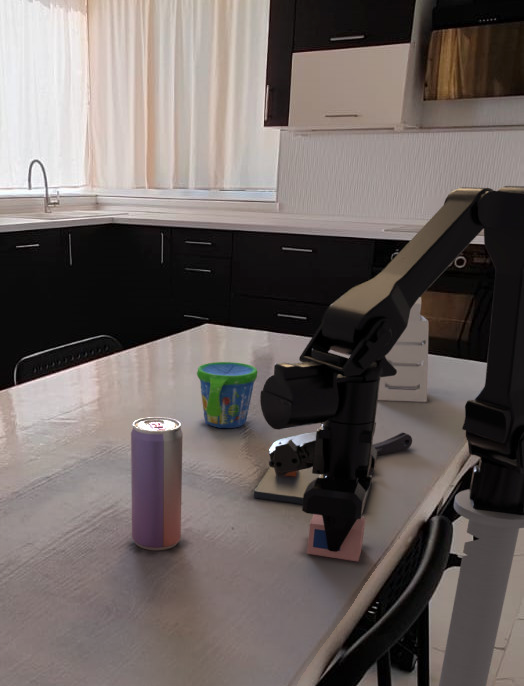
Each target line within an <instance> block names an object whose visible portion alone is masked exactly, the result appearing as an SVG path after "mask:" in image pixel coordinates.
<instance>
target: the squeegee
mask: <svg viewBox="0 0 524 686" xmlns="http://www.w3.org/2000/svg"><path fill="white" fill-rule="evenodd" d="M412 444H413V437H412V436H411V434H408V433H406V432H400V433H398V434H396V435H394V436H392V437H389V438H387V439H385V440H383V441H380V442H376V443H372V445H373V446H374V448H375V449H376V450H377V456H378V455H385V454H390V453H395V452H401V451H402V452H403V451H405V450H408V449H410V447H411V446H412ZM375 470H376V468H375V469H374V471H375ZM373 473H374V472H373V471H369V473H368V475H372V474H373Z"/></svg>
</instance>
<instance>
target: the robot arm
mask: <svg viewBox="0 0 524 686" xmlns="http://www.w3.org/2000/svg"><path fill="white" fill-rule="evenodd" d="M482 231H483V242H484V243H483V244H484V247H485V249H486V252H487V253H488V255H489V258H490V260H491V262H492V264H493V266H494V268H495V269H494V271H495V273H494V275H495V276H494V285H493V293H492V294H493V295H492V297H493V298H492V305H491V306H492V307H491V315H490V316H491V317H490V326H489V337H488V338H489V339H488V348H487V357H486V358H487V359H486V369H485V370H486V371H485V381H484V386H483V388H482V389H481V390H480V391H479V393H478V394H477V395H476V397H475V398H474V399H469V400H467V401H466V403H465V405H464V415H465V416H464V421H463V425H462V430H463V431H465V438H466V440H467V446H468V447H467V448H468V454H469V455H471V456H476V457H478V458H479V462H478V465H477V464H475V465H474V466H473V469H472V474H471V482H470V485H469V489H470V491H469V498H470V500H472V504H473V508H474V509H478V510H486V511H494V512H501V513H509V514H517V515H524V185H505V186H502V187H500V188H498V190H494V189H493V188H490V187H467V186H465V187H463V186H462V187H459V188H457V189H455V190H452V191H450V192H449V193H448V195H447V197H446V198H445V199H444V203H443V205H442V206H441V207H440V208H439V210H437V212H435V213H434V215H432V217H431V218H430V219H429V220H428V221H427V222H426V223H425V224H424V225H423V227H422V228H420V230H419V231H418V232H417V233H416V234H415V235H414V236H413V237H412V238H411V239H410V240H409V242H408V243H406V245H405V246H404V247H403V248H402V249H401V250H400V251H399V252H398V253H397V254H396V255H395V256H394V258H393V259H392V260H391V261H390V262H389V263H388V264H387V265H386V266H385V267H384V268H383V269H382V270H381V272H379V273H378V274H377V275H375V276H374V277H373V278H371V279H369V280H368V281H365V282H363V283H361V284H357V285H355V286H354V287H352V288H350V289H349V290H347V292H345V293H344V294H343V295H341V296H340V297H339V298H337V299H336V300H335V301H334V302H332V303H331V304H330V305H329V306H328V307H327V308H326V310H325V311H324V314H323V316H322V318H321V324H320V325H319V326H318V328H317V329H316V331H314V332H315V333H313V336H312V337H311V339H310V340H309V341H308V343H307V344H306V347H305V348H304V350H303V351H302V352H301V354H300V356H299V358H298V359H299V362H293V363H290V362H279V363H278V362H277V363H275V364H274V367H273V368H274V369H273V374H272V375H271V376H269V377H268V378H267V379H266V381H265V382H264V385H263V388H262V390H261V391H260V395H259V396H260V403H259V404H260V409H261V413H262V416H263V418H264V420H265V421H266V423H267V424H268V426H269V427H270V428H271V429H273V430H279V431H281V430H285V429H292V428H296V427H297V428H298V427H304V426H312V425H317V424H320V427H319V428H317V430H316V431H313V432H306V433H302V434H296V435H293V436H289V437H283V438H281V439H277V440H276V441H274V442H273V443H272V444H271V446H270V447H269V449H268V453H269V461H268V465H269V468H270V467H272V468H274V470H275V474H276V475H277V476H283V475H286V474H287V473H289V472H294V471H299V470H303V469H308V468H310V469H312V473H313V474H321V475H320V477H318V478H316V479H315V480H313V481H312V482H311V483H309V484H308V487H307V489H306V491H305V493H304V495H303V504H302V508H301V511H302V512H304V513H305V514H311V515H314V514H316V515H322V517H323V522H324V528H325V534H326V540H327V546H328V550H329V551H334V552H337V551H338V550H339V548H340V547H341V545H342V543H343V542H344V540H345V538H346V537H347V535H348V533H349V532H350V530H351V528H352V527H353V525H354V523H355V522H356V520H357V519H361V517H362V515H363V513H364V511H363V508H364V509H365V507H364V505H365V506H366V503H365V495H366V492H367V490H368V488H369V486H370V487H371V485H370V483H371V484H372V482H371V480H372V481H373V476H372V477H370V476H371V475H369V474H368V473H369V471H373V473H374V472H375V470H376V465H377V459H378V458H377V457H378V455H377V450H376V449H375V448H374V446H373V444H374V443H373V442H374V436H375V432H376V428H377V422H376V419H377V417H376V416H377V408H378V402H379V400H378V393H379V385H380V378H381V377H388V376H394V375H396V373H397V370H396V369H395V368H394V367H393V366H392V365H391V364H390V363H389V362H388V361H387V359H386V357H385V356H386V355H387V354H388V353H389V352H390V350H391V349H392V348H393V346H394V345H395V343H396V342H397V340H398V339H399V338H400V336H401V335H402V333H403V332H404V331H405V329H406V327H407V325H408V320H409V315H410V310H411V308H412V307H413V305H414V304H415V302H416V301H417V300H418V299H419V298H420V297H421V298H422V296H423V294H425V292H426V291H427V290H428V289H429V288H430V287H431V286H432V285H433V284H434V283H435V282H436V281H437V279H438V278H439V277H440V276H441V275H442V274H443V273H444V272H445V271H446V270H447V269H448V268H449V266H450V265H451V264H452V263H454V261H455V260H456V259H457V258H458V257H459V256H460V254H461V253H462V252H464V251H465V249H466V248H467V247H468V246H469V245H470V244H471V243H472V242H473V241H474V239H476V237H477V236H478V235H479V234H480V233H481V232H482ZM330 351H332V352H336V353H332V352H330ZM337 353H339V354H337ZM340 354H342V355H345V356H342V355H340ZM346 356H349V357H346ZM374 469H375V470H374Z"/></svg>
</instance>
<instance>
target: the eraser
mask: <svg viewBox="0 0 524 686" xmlns="http://www.w3.org/2000/svg"><path fill="white" fill-rule="evenodd" d="M366 520H367V519H366V517H362V516H361V519H357V520H356V522H355V523H354V525H353V527H352V528H351V530H350V532H349V533H348V535H347V537H346V538H345V540H344V542H343V543H342V545H341V547H340V548H339V550H338V551H337V552H334V551H329V550H328V546H327V540H326V534H325V528H324V522H323V517H322V515H316V514H312V518H311V520H310V523H309V527H308V528H309V529H308V539H307V540H308V541H307V550H306V551H307V552H306V554H307V555H314V556H318V557H326V558H332V559H339V560H344V561H345V560H346V561H350V562H351V561H352V562H359V560H360V558H361V557H360V556H361V552H362V549H363V542H364V534H365V525H366Z"/></svg>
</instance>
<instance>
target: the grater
mask: <svg viewBox="0 0 524 686" xmlns="http://www.w3.org/2000/svg"><path fill="white" fill-rule="evenodd" d="M421 311H422V296H421V297H420V298H419V299H418V300H417V301H416V302H415V304H414V305H413V307H412V308H411V310H410V315H409V320H408V325H407V327H406V329H405V331H404V332H403V333H402V335H401V336H400V338H399V339H398V340H397V342H396V343H395V345H394V346H393V348H392V349H391V350H390V352H389V353H388V354H387V355H386V356H385V357H386V359H387V361H388V362H389V363H390V364H391V365H392V366H393V367H394V368H395V369H396V370H397V373H396V375H394V376H388V377H381V378H380V385H379V393H378V401H392V402H393V401H394V402H420V403H422V402H423V403H426V402H428V377H429V376H428V371H429V370H428V369H429V327H430V325H429V324H430V323H429V320H428V319H427V318H426V317H425V316H423V315H422V314H421Z"/></svg>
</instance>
